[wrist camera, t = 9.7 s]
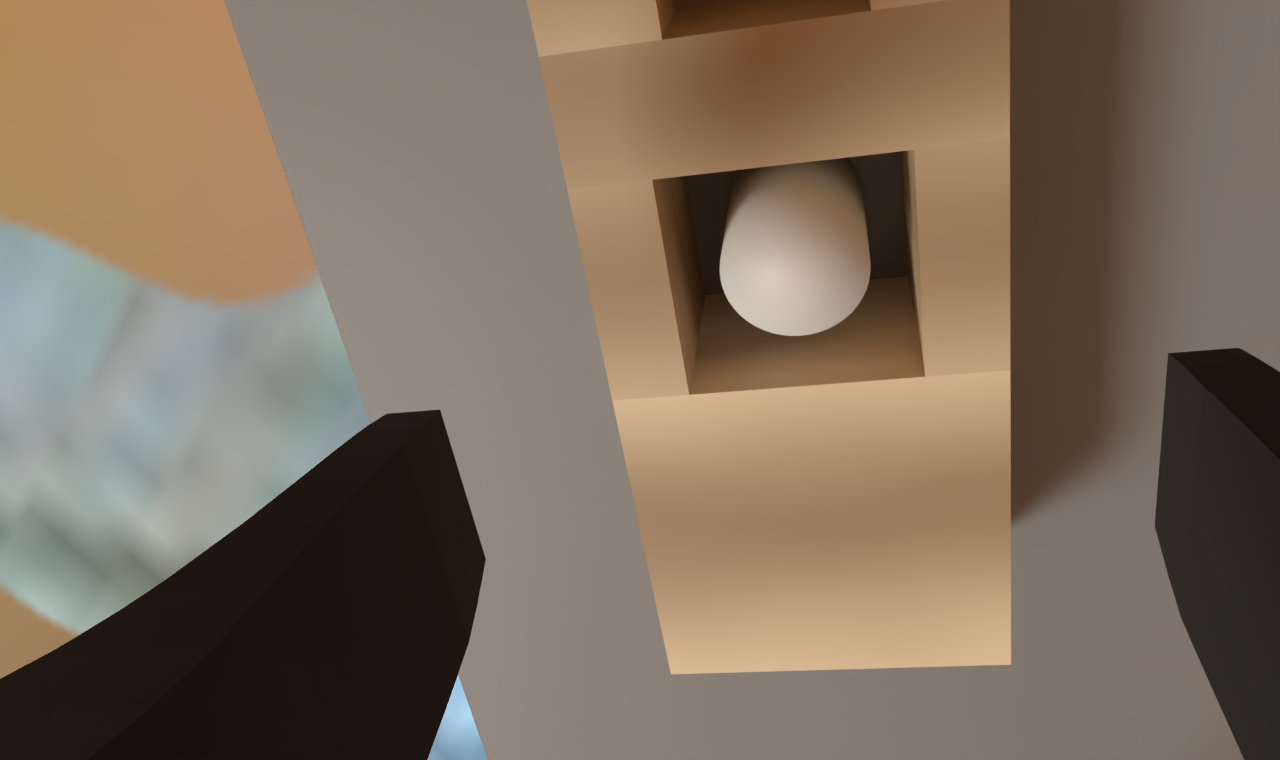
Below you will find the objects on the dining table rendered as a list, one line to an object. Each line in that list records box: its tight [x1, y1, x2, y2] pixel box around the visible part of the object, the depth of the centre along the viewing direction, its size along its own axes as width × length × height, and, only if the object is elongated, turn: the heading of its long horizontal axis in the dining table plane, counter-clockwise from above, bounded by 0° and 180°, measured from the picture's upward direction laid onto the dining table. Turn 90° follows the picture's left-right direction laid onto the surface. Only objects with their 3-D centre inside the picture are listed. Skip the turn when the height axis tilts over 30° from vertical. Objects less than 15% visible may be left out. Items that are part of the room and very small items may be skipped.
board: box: [224, 0, 1280, 760], centre depth 17 cm, size 22×22×4 cm
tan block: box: [527, 0, 1011, 674], centre depth 16 cm, size 14×5×3 cm, turn 10°
